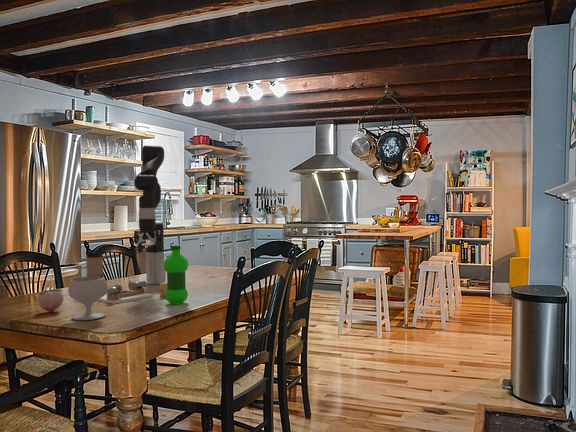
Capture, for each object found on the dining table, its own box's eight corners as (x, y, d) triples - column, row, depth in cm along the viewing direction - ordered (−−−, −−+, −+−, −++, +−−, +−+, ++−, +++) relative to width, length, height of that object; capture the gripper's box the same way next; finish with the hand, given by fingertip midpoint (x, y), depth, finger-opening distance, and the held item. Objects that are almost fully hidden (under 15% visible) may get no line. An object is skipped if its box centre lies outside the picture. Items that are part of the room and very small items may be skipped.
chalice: (112, 313, 206) (112, 275, 205) (101, 321, 192) (100, 280, 191) (76, 314, 205) (75, 276, 205) (62, 322, 191) (61, 281, 191)
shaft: (142, 291, 250) (141, 279, 250) (148, 292, 247) (147, 280, 247) (127, 293, 244) (126, 281, 244) (133, 294, 241) (132, 282, 241)
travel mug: (106, 291, 261) (105, 251, 260) (99, 293, 253) (98, 252, 253) (91, 291, 261) (90, 251, 261) (84, 293, 254) (83, 252, 253)
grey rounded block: (113, 297, 235) (112, 284, 235) (123, 297, 235) (123, 284, 234) (105, 300, 227) (104, 287, 227) (116, 300, 227) (115, 287, 226)
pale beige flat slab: (130, 293, 253) (130, 287, 253) (152, 297, 241) (152, 291, 241) (92, 299, 238) (92, 293, 238) (113, 303, 226) (113, 297, 226)
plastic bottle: (165, 306, 218) (163, 246, 217) (164, 302, 228) (163, 244, 228) (189, 304, 221) (188, 245, 220) (187, 300, 231) (186, 244, 230)
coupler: (166, 295, 246) (166, 282, 246) (173, 296, 243) (172, 283, 243) (157, 296, 243) (157, 283, 242) (164, 297, 239) (164, 284, 239)
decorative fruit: (56, 308, 217) (56, 284, 216) (66, 311, 211) (66, 286, 211) (33, 312, 209) (33, 287, 209) (43, 315, 204) (43, 289, 204)
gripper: (129, 218, 242) (130, 253, 243) (154, 218, 237) (155, 253, 237) (140, 218, 249) (141, 251, 249) (164, 217, 243) (165, 252, 244)
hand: (147, 252), depth 243 cm, fingers open, 8 cm apart
